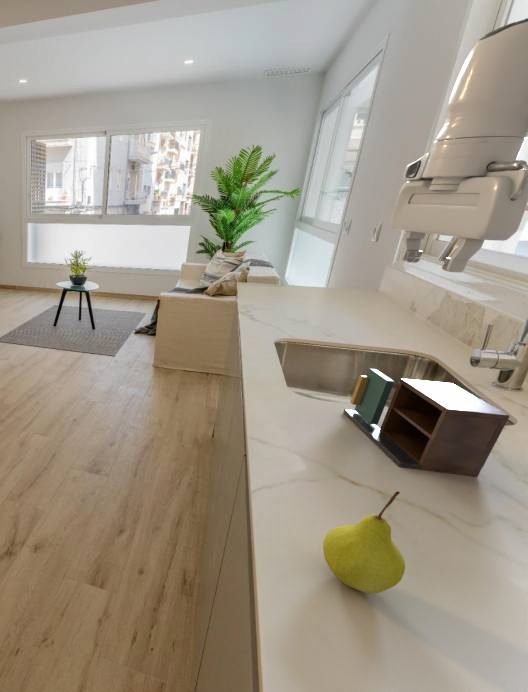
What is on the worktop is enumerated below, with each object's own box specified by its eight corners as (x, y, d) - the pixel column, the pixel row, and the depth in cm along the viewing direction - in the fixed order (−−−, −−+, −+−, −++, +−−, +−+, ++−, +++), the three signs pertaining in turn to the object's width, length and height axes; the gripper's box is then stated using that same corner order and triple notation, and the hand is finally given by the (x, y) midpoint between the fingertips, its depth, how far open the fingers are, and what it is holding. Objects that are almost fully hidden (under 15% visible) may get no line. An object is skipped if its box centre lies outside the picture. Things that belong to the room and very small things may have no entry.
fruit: (355, 614, 44) (396, 523, 39) (300, 562, 50) (331, 479, 45) (405, 601, 46) (451, 512, 41) (346, 552, 52) (380, 470, 47)
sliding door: (360, 410, 85) (376, 369, 81) (377, 425, 79) (394, 381, 76) (347, 409, 85) (362, 367, 82) (363, 423, 80) (379, 380, 76)
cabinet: (404, 419, 84) (426, 368, 80) (477, 476, 67) (510, 415, 63) (342, 412, 86) (360, 362, 82) (398, 466, 69) (425, 406, 65)
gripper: (568, 159, 48) (512, 280, 54) (443, 169, 67) (410, 258, 72) (503, 158, 49) (454, 277, 55) (398, 168, 68) (369, 256, 73)
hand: (429, 266), depth 64 cm, fingers open, 8 cm apart
